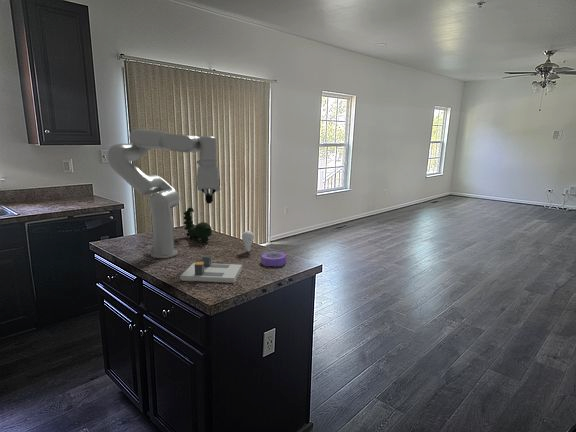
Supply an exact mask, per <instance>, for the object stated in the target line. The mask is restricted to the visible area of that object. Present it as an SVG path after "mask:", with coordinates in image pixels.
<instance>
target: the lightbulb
mask: <svg viewBox="0 0 576 432" xmlns="http://www.w3.org/2000/svg"><path fill="white" fill-rule="evenodd" d="M241 239H242V242H243V243H244V248H245V249H244V250H245V251H246V252H248V253H249V252H250V251H251V247H252V243H253V241H254V239H255V234H254V233H253V232H252V231H250V230H245V231H244V232H242V235H241Z"/></svg>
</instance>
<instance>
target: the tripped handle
mask: <svg viewBox="0 0 576 432" xmlns="http://www.w3.org/2000/svg"><path fill="white" fill-rule="evenodd" d="M194 263H195V274H200V275H202V274H203V273H204V262H202V261H196V262H194Z"/></svg>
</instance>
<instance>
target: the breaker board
mask: <svg viewBox="0 0 576 432" xmlns="http://www.w3.org/2000/svg"><path fill="white" fill-rule="evenodd" d="M195 263H196V262H193V263H191V265H190V266H189V267H187V269H186V270H185V271H184V272H183V273H182V274H181V275H180V281H187V282H188V281H189V282H207V283H208V282H209V283H212V282H213V283H228V284H229V283H233V284H234V283H235V282H236V281H237V280H238V278H239V277H238V276H240V274H241V272H242V271H243V264H232V263H212V262H211V265H210V266H204V273H203V274H202V275H200V274H195Z"/></svg>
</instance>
